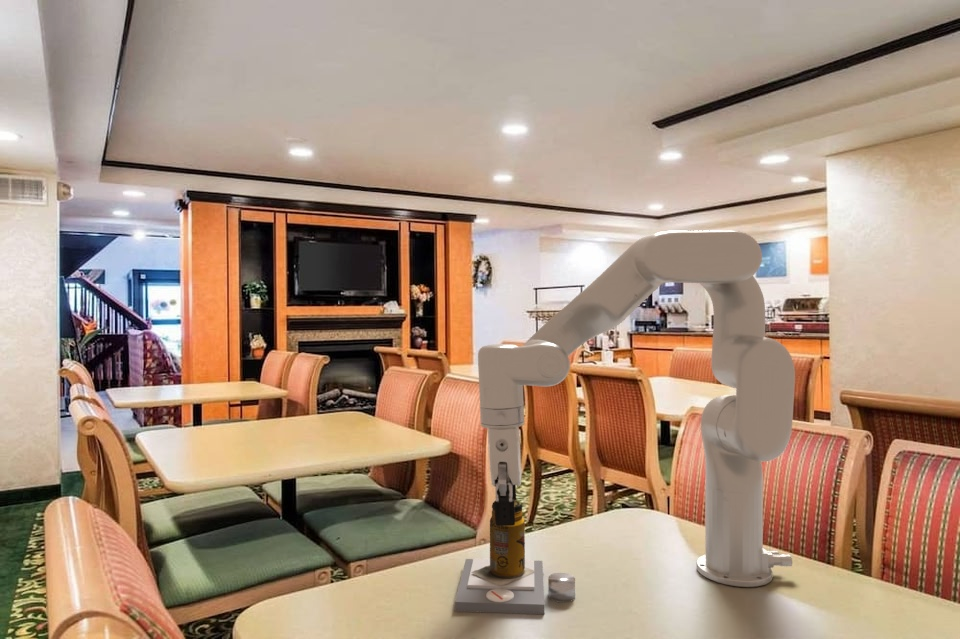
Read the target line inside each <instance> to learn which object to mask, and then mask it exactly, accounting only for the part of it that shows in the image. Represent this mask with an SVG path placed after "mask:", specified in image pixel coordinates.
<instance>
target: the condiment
mask: <svg viewBox="0 0 960 639" xmlns="http://www.w3.org/2000/svg"><path fill="white" fill-rule="evenodd" d="M491 509H492V510H491V517H490V519H489V559H490V565H489V566H485V567H484V568H481V569H479V570H475V571H473V572H471V573H473V574H475V575H477V576H478V577H481V578H482V579H485V580H487V581H488V582H492V583H494V584H497V585H499V586H504V585H505V584H508V583H510V582H513V581H514V580H517V579H520V578H522V577H525V576H527V575H529V574H532V573H533V572H535V571H534V570H532V569H529V568H525V560H526V555H525V553H526V550H525V549H526V548H525V547H526V546H525V544H526V542H525V541H526V540H525V539H526V536H525V534H526V533H525V532H526V531H525V530H526V523H525V518H524V517H523V503H522V502H521V501H519V500H517V499H516V500H514V510H515V525H513V526H497V525H496V523H495V501H493V502H492V505H491Z"/></svg>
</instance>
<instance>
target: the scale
mask: <svg viewBox="0 0 960 639" xmlns="http://www.w3.org/2000/svg"><path fill="white" fill-rule="evenodd" d="M543 563H544V562H543V560H534V559H525V568H529V569H532V570H534V571H535V572H533V573H532V574H529V575H527V576H525V577H522V578H520V579H517V580H514V581H513V582H510V583H508V584H505V585H504V586H499V585H497V584H494V583H492V582H488V581H487V580H485V579H482V578H481V577H478V576H477V575H475V574H473V573H471V572H473V571H475V570H479V569H481V568H484V567H485V566H489V565H490V558H465V560H464V564H463V565H464V566H463V568H462V573H461V577H460V580H459V584H458V588H457V590H456V591H457V592H456V595H455V598H454V612H460V613H461V612H462V613H463V612H466V613H468V612H470V613H493V614H495V613H497V614H498V613H499V614H526V615H531V614H532V615H545V592H544V590H545V589H544V587H545V586H544V567H543Z"/></svg>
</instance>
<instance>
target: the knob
mask: <svg viewBox="0 0 960 639" xmlns="http://www.w3.org/2000/svg"><path fill="white" fill-rule="evenodd" d="M547 577H548V578H547V579H548V588H547V589H548V590H547V591H548V594H547V595H548V598H549V599H550V600H551V601H554V602H557V601H558V602H557V603H569V602H572V601H574V600H575V599H576V578H575V576H574V575H572V574H569V573H567V572H566V573H565V572H555V573H552V574H550V575H548V576H547ZM573 599H574V600H573ZM571 600H572V601H571Z"/></svg>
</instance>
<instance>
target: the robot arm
mask: <svg viewBox="0 0 960 639" xmlns="http://www.w3.org/2000/svg"><path fill="white" fill-rule="evenodd" d="M762 261H763V253H762V248H761V246H760V245H759V243H758V241H757V240H756V239H755V238H754V237H752V235H750V234H747V233H745V232H743V231H740V230H710V231H709V230H703V231H702V230H699V231H698V230H694V231H693V230H691V231H690V230H689V231H688V230H667V231H659V232H656V233H652V234H650V235H646V236H643V237H642V238H639V239H638V240H636V241H635V242H634V243H632V244H631V245H630V246H629V247H628V248H627V249H626V250H625V251H624V252H622V254H621V255H619V257H618V258H616V260H615V261H613V262H612V263H611V264H609V266H608V267H607V268H606V269H605V270H604V271H603V272H602V273H601V274H600V275H599V276H598V277H597V278H595V279H594V281H592V282H591V283H590V284H588V286H587V287H586V288H585V289H583V290H582V291H581V292H580V293H579V294H578V295H577V296H575V297H574V298H573V299H572V300H571V301H569V302H568V304H566V305H565V306H564V307H562V309H561V310H559V311H558V312H557V313H556V314H555V315H553V316H552V317H551V318H550V319H549V320H548V321H546V322H545V323H544V324H543V326H541V327H540V328H539V329H538V330H537V331H536V332H535V333H534V334H533V335H532V336H531V337H529V339H528V340H527V341H525V342H524V344H523V345H521V346H518V345H516V344H510V343H503V344H501V343H499V344H498V343H497V344H486V345H483V346H481V347H480V348H479V349H478V352H477V368H478V389H479V393H478V395H479V412H480V414H479V415H480V417H479V418H480V426H481V428H484V429H487V440H488V444H487V445H488V457H489V470H490V471H489V472H490V480H491V485H492V486H493V487H494V488H495V500H494V502H495V523H496V525H497V526H513V525H515V510H514V500H517V489H516V488H517V487H520V486H521V484H522V460H521V457H522V455H521V453H522V452H521V437H520V436H521V435H520V428H519V427H523V426H524V425H525V407H524V406H525V405H524V404H525V403H524V386H531V387H534V386H535V387H544V388H545V387H553V386H557V385H559V384H560V383H562V382H563V381H564V380H565V379H566V378H567V377H568V375H569V373H570V370H571V360H570V356H571V355H572V353H574V352H575V351H576V350H577V349H579V348H580V347H581V346H582V345H583V344H585V343H586V342H588V341H589V340H591V339H593V338H595V337H596V336H599V335H602V334H605V333H607V332H609V331H611V330H612V329H614V328H616V327H617V326H619V325H620V324H622V323H623V322H624V321H625V320H626V319H627V318H628V317H629V316H630V315H631V314H632V313H633V312H634V311H635V310H636V309H637V308H638V307H639V306H640V305H641V304H642V303H643V302H645V301H646V299H648V297H649V296H651V295H652V294H653V293H654V292H655V291H656V290H657V289H658V288H660V286H661V285H663V284H667V283H682V284H683V283H685V284H690V283H691V284H700V285H701V286H702V287H703V288H704V289H705V290H706V292H707V294H708V295H709V297H710V300H711V304H712V309H713V327H712V328H713V329H712V330H713V331H712V342H711V344H712V348H711V358H710V360H711V362H710V363H711V371H712V375H713V376H714V378H715V379H716V380H717V381H718V382H719V383H720V384H723V385H724V386H727V387H729V388H733V389H735V390H736V392H735V394H721V395H718V396H716V397H715V398H711V400H710V401H709V402H708V403H707V404H706V406H705V407H704V408H703V410H702V414H701V418H700V430H701V431H700V433H701V438H702V444H703V452H704V462H705V463H704V464H705V466H704V467H705V469H704V470H705V483H704V484H705V485H704V486H705V488H704V489H705V490H704V491H705V492H704V494H705V499H704V500H705V506H704V507H705V510H704V511H705V515H704V516H705V518H704V519H705V523H704V524H705V527H704V528H705V530H704V531H705V542H704V543H705V546H704V547H705V549H704V550H705V552H704V553H705V554H703V555H701V556H699V557H698V558H697V560H696V570H697V571H698V573H700V574H701V576H703V577H705V578H707V579H708V580H710V581H713V582H715V583H719V584H722V585H728V586H732V587H733V586H734V587H741V588H742V587H743V588H754V587H756V588H757V587H761V586H764V585H768V584H769V583H770V582H772V579H773V573H774V572H773V570H772V569H773V568H774V567H775V566H778V567H793V558H792V556H791V554H779V551H778V550H766V549H765V548H764V547H763V545H764V543H763V540H764V539H763V537H764V535H763V534H764V530H763V527H764V519H763V518H764V517H763V516H764V509H763V508H764V507H763V506H764V505H763V504H764V502H763V501H764V496H763V495H764V494H763V493H764V472H763V465H762V463H763V462H765V463H766V462H770V461H773V460H776V459H777V458H778V457H780V456H781V455H783V453H784V452H785V451H786V449H787V447H788V445H789V443H790V439H791V436H792V431H793V430H792V429H793V420H794V416H793V415H794V403H795V402H794V401H795V385H796V382H795V381H796V369H795V365H794V360H793V358H792V356H791V353H790V352H789V350H788V349H787V347H785V345H784V344H782V343H781V342H780V341H778V340H776V339H774V338H771V337H766V303H765V298H764V294H763V292H762V289H761V286H760V284H759V283H758V281H757V279H756V277H755V274H756V273H757V272H758V270H759V269H760V267H761V263H762Z"/></svg>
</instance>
